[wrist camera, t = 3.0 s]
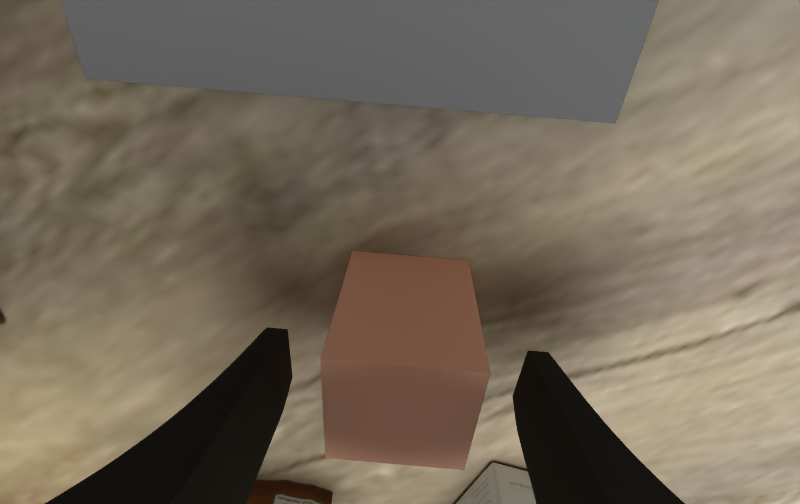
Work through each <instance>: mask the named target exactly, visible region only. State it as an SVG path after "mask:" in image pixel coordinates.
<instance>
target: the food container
mask: <svg viewBox="0 0 800 504" xmlns="http://www.w3.org/2000/svg"><path fill="white" fill-rule="evenodd" d="M332 495H333V492H330V491H328V490H325V489H322V488H319V487H316V486H313V485H308V484H302V483H297V482H292V481H286V480H255V482H254V485H253V487H252V490H251V493H250V496H249V499H248V501H247V504H331V503H332Z"/></svg>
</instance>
